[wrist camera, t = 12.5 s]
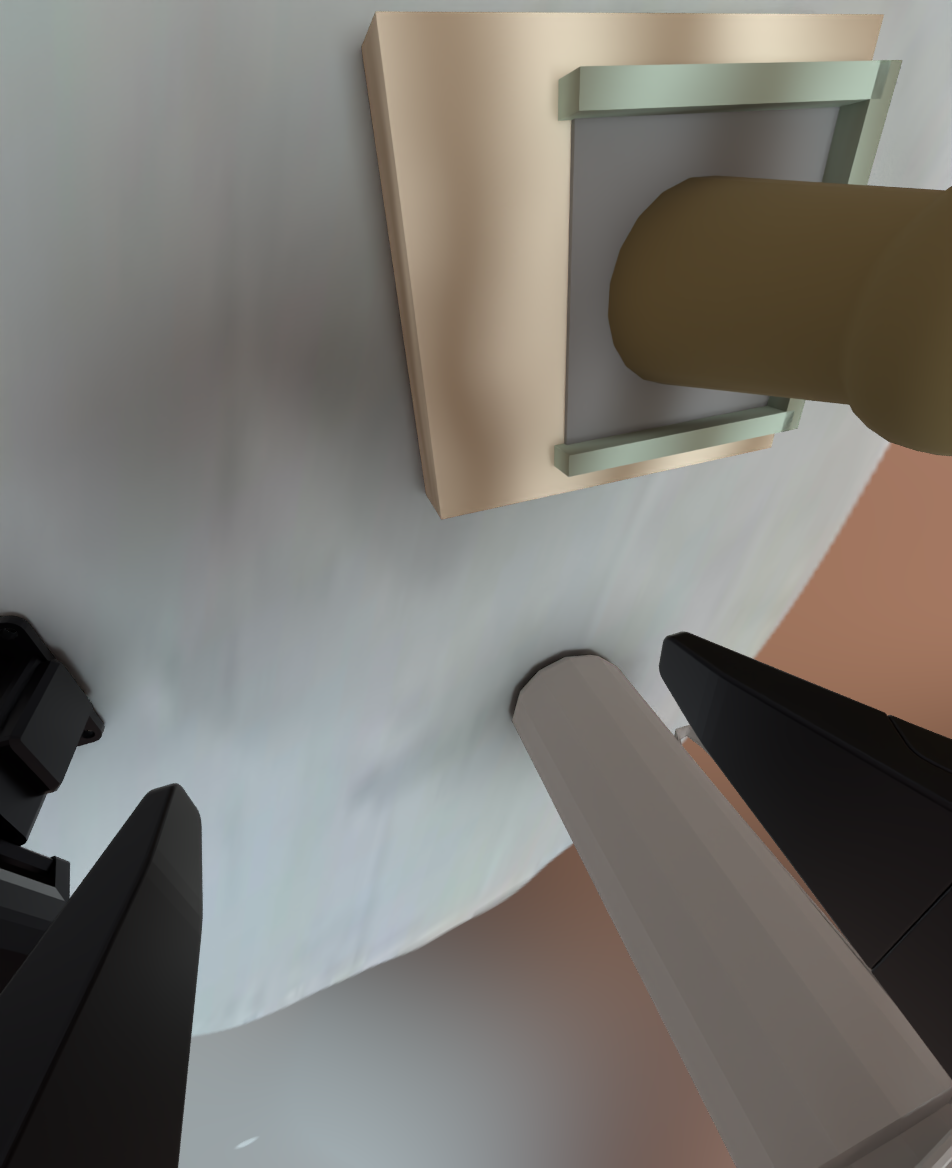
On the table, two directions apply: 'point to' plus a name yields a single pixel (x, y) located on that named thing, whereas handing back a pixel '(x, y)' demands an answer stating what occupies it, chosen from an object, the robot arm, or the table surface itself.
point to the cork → (796, 297)
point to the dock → (583, 219)
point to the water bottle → (731, 943)
